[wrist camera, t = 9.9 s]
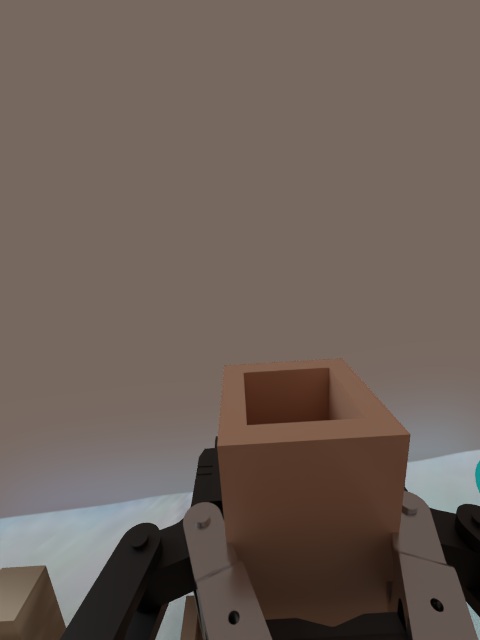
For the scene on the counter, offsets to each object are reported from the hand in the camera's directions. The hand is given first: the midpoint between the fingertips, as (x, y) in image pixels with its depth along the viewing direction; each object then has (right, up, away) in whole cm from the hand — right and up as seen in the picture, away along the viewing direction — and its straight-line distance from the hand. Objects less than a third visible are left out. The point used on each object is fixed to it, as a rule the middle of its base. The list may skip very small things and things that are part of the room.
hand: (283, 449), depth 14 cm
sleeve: (0, -6, -1) cm, 6 cm away
